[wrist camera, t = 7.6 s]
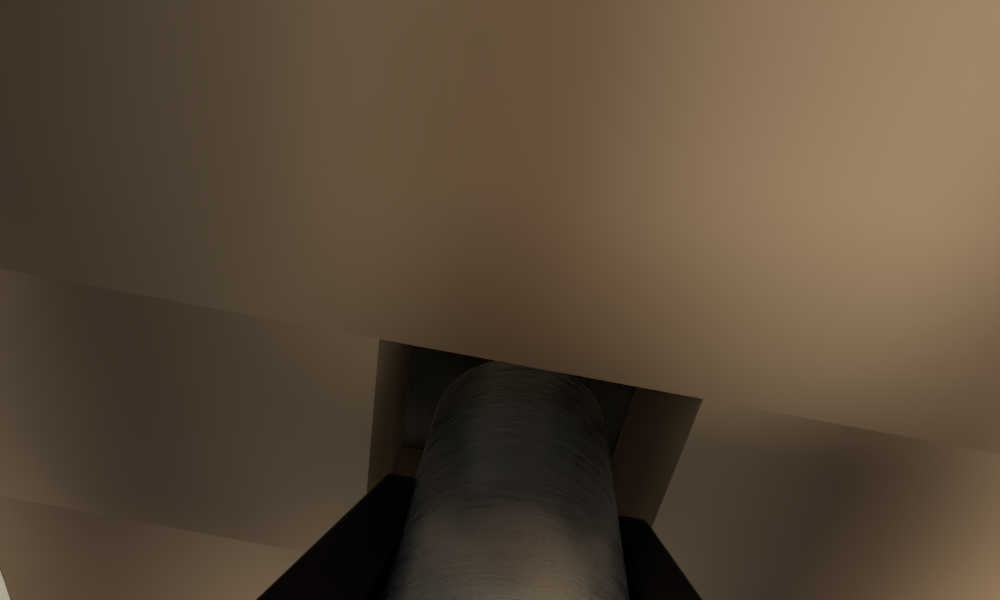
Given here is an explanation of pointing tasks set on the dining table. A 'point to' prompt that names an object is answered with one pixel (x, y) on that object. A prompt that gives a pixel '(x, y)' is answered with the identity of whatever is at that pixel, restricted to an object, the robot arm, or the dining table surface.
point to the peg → (512, 495)
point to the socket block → (500, 275)
